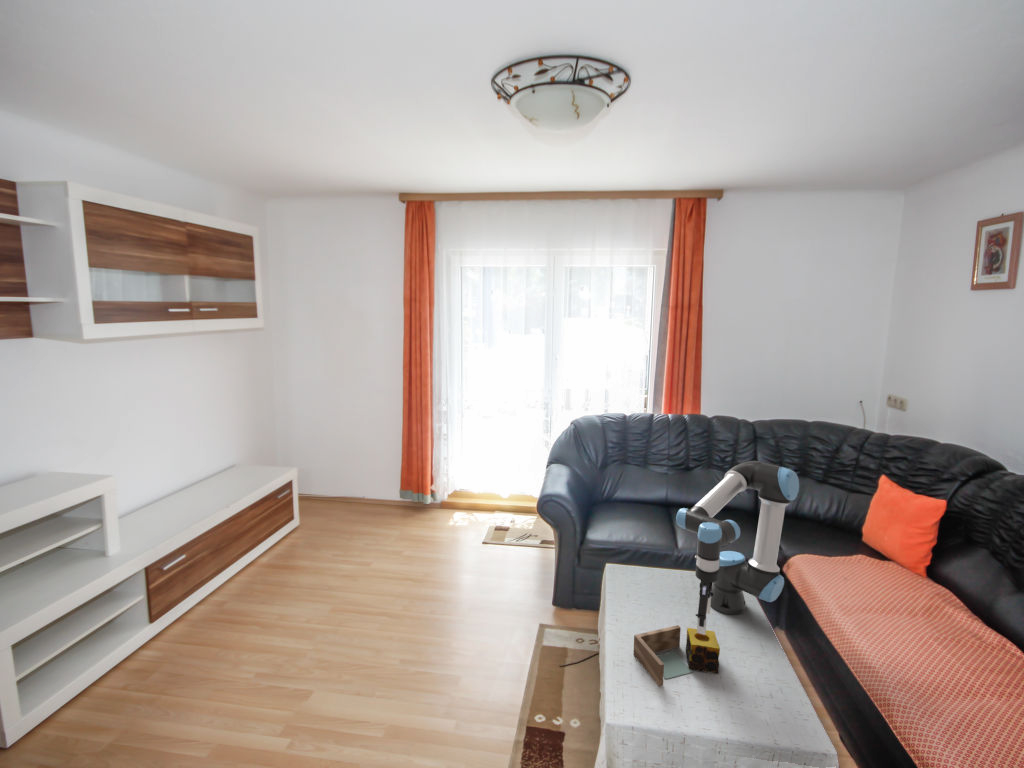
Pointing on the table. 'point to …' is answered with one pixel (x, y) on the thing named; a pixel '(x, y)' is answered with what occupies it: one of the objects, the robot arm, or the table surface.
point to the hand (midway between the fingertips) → (703, 622)
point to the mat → (673, 665)
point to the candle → (702, 651)
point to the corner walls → (655, 649)
